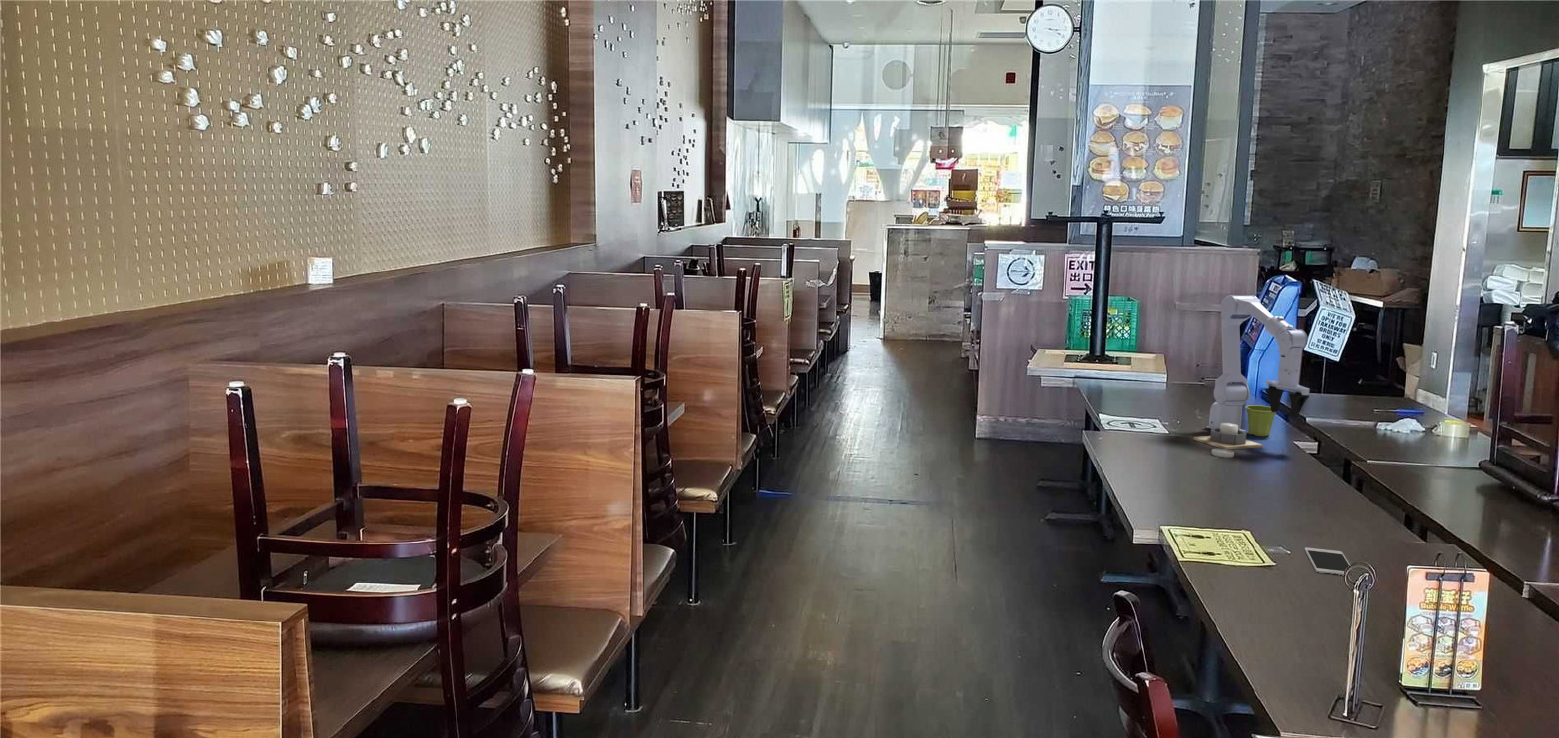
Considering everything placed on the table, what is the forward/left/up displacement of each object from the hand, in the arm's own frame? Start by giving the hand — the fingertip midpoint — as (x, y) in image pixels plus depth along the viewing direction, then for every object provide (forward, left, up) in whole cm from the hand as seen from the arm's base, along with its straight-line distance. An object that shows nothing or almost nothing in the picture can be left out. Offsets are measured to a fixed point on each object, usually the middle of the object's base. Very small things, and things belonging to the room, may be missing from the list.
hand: (1284, 414), depth 317 cm
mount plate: (-9, -12, -10) cm, 18 cm away
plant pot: (-17, +8, -11) cm, 22 cm away
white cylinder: (-9, -12, -10) cm, 18 cm away
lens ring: (-9, -12, -10) cm, 18 cm away
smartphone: (+85, -73, -11) cm, 113 cm away
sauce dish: (+3, -25, -11) cm, 27 cm away
